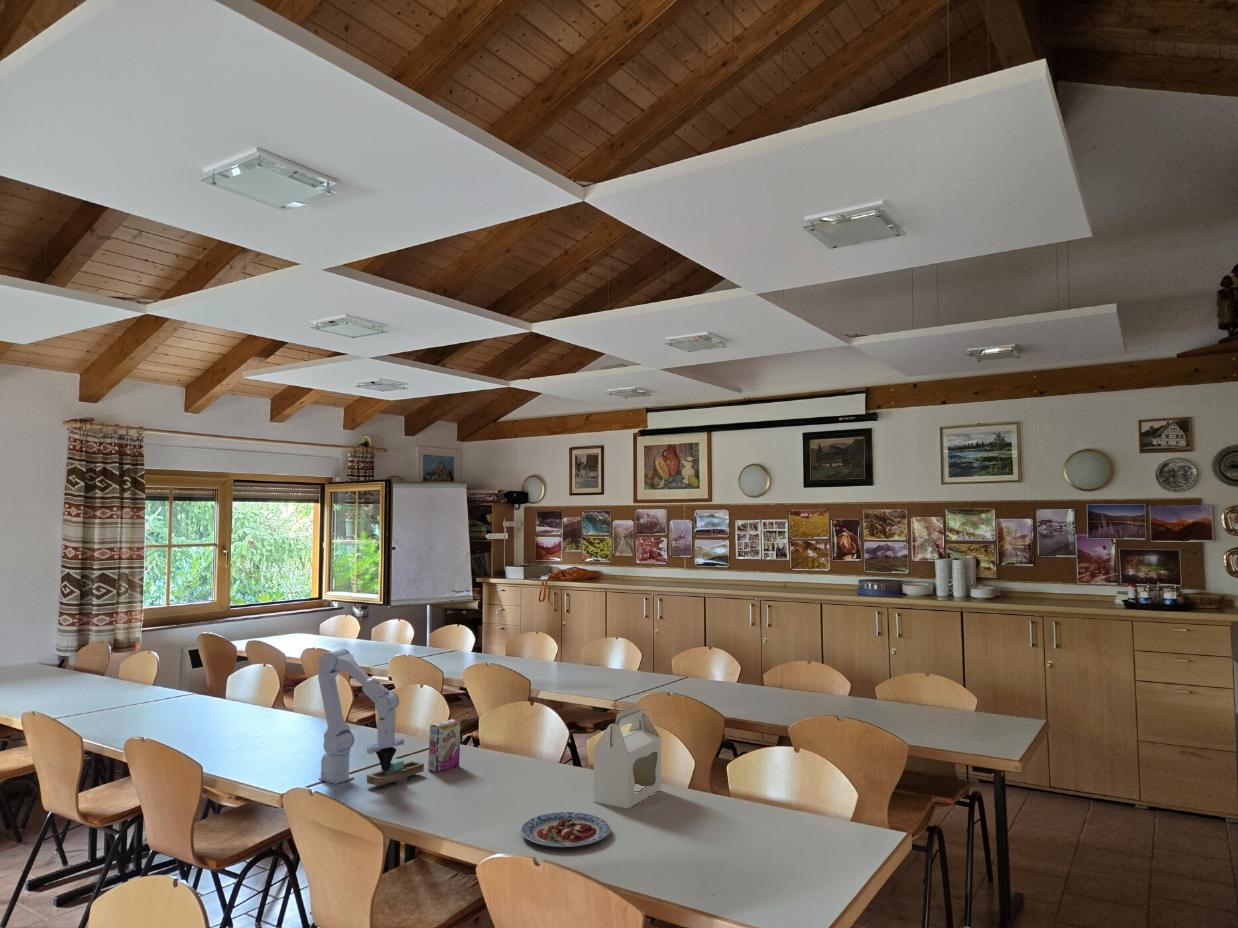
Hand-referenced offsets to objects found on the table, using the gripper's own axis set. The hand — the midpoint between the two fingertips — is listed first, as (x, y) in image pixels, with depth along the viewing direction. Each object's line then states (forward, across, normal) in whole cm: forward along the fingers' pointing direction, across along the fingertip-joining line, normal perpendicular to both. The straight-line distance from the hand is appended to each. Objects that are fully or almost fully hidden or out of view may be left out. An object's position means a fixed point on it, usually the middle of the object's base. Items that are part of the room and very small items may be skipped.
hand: (385, 770), depth 274 cm
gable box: (+5, +38, -74) cm, 83 cm away
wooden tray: (+5, +5, 0) cm, 7 cm away
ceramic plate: (+5, 0, -77) cm, 77 cm away
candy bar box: (+5, +25, -3) cm, 25 cm away
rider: (+2, +4, 0) cm, 4 cm away
